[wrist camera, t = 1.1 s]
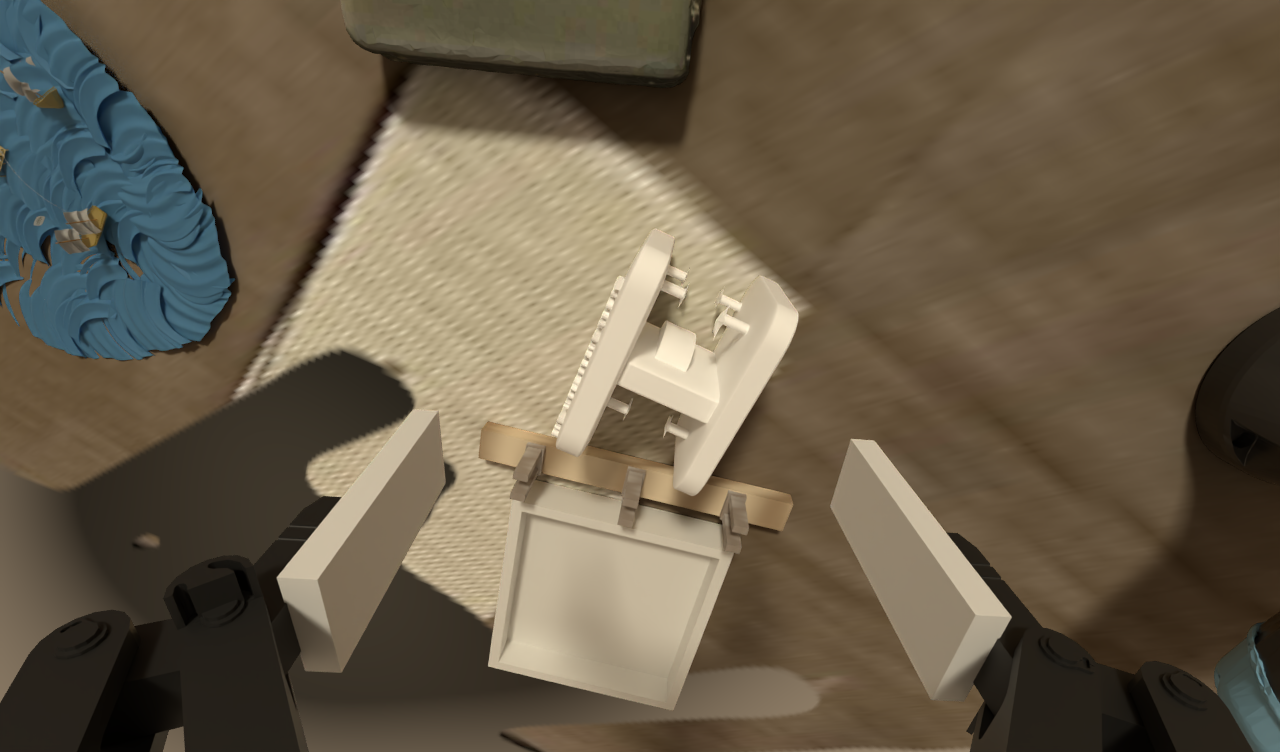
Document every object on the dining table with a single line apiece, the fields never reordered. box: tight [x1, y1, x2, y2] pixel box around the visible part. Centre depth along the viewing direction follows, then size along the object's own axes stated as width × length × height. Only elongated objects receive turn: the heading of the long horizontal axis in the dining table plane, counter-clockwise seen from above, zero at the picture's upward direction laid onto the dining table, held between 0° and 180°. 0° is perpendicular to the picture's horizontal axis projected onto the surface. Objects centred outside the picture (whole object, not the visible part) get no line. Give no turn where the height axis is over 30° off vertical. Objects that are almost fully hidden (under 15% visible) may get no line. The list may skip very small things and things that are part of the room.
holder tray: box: [488, 480, 734, 711], centre depth 50 cm, size 20×22×4 cm
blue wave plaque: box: [0, 0, 235, 360], centre depth 40 cm, size 30×30×5 cm
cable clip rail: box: [479, 422, 793, 554], centre depth 43 cm, size 28×3×6 cm, turn 78°
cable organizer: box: [551, 228, 798, 496], centre depth 36 cm, size 15×11×12 cm
